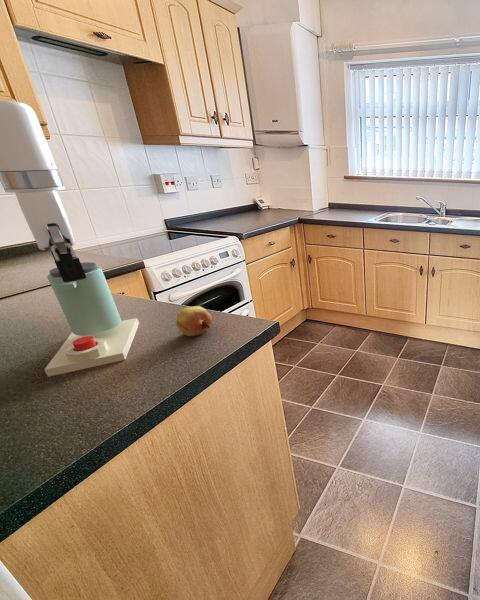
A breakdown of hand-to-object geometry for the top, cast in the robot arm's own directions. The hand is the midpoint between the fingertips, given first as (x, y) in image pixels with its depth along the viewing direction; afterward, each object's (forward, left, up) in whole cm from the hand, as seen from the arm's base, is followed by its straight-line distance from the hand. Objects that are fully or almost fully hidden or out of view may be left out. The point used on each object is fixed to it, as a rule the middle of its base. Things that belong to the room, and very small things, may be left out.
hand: (72, 274), depth 66 cm
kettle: (-1, +6, -14) cm, 15 cm away
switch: (-1, -4, -14) cm, 15 cm away
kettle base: (-1, +2, -17) cm, 17 cm away
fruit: (+18, -1, -18) cm, 25 cm away
